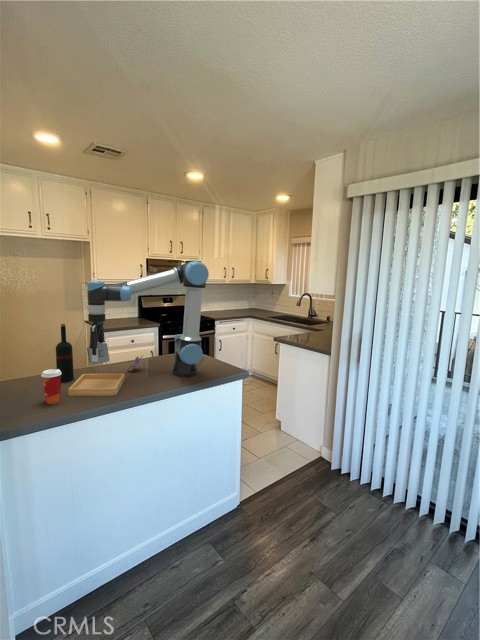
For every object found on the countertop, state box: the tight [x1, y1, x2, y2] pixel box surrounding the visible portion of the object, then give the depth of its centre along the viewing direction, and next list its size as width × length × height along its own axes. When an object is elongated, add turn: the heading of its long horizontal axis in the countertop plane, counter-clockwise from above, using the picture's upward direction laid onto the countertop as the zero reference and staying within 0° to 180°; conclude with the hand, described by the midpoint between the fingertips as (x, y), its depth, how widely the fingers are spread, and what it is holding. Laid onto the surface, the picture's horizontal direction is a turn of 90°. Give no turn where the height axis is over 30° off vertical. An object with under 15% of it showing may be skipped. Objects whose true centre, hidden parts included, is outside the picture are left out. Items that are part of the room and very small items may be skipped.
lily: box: [126, 355, 144, 372], centre depth 186 cm, size 12×12×10 cm
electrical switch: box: [86, 342, 110, 366], centre depth 157 cm, size 9×5×9 cm, turn 141°
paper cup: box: [40, 368, 62, 405], centre depth 141 cm, size 8×8×14 cm
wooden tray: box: [67, 373, 126, 397], centre depth 159 cm, size 21×21×4 cm
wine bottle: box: [55, 323, 75, 384], centre depth 166 cm, size 8×10×30 cm
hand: (97, 358), depth 157 cm, fingers closed on electrical switch, 9 cm apart
